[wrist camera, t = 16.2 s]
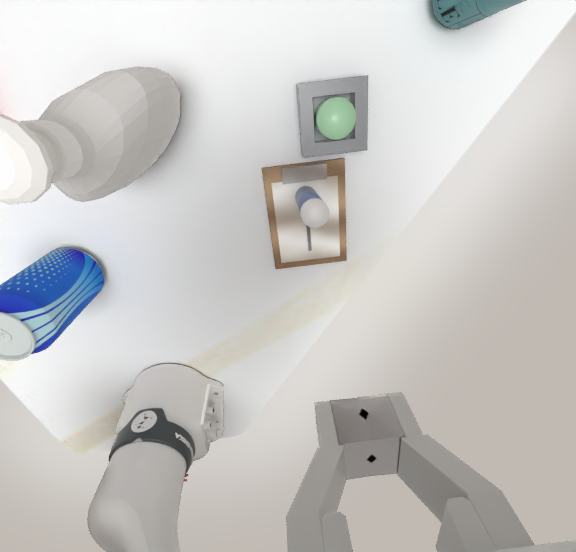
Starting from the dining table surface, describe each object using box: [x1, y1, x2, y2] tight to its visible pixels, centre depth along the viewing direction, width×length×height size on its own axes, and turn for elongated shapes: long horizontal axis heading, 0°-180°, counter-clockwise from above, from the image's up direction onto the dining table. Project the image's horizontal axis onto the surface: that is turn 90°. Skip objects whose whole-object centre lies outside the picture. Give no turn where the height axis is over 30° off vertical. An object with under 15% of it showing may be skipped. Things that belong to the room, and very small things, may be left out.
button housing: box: [297, 75, 368, 158], centre depth 39 cm, size 8×8×2 cm
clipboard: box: [262, 158, 346, 269], centre depth 45 cm, size 15×11×1 cm
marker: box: [295, 186, 329, 228], centre depth 39 cm, size 3×3×10 cm
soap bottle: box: [0, 67, 181, 204], centre depth 28 cm, size 14×8×27 cm, turn 139°
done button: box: [314, 97, 356, 140], centre depth 38 cm, size 4×4×4 cm
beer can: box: [0, 248, 104, 361], centre depth 41 cm, size 8×8×16 cm
